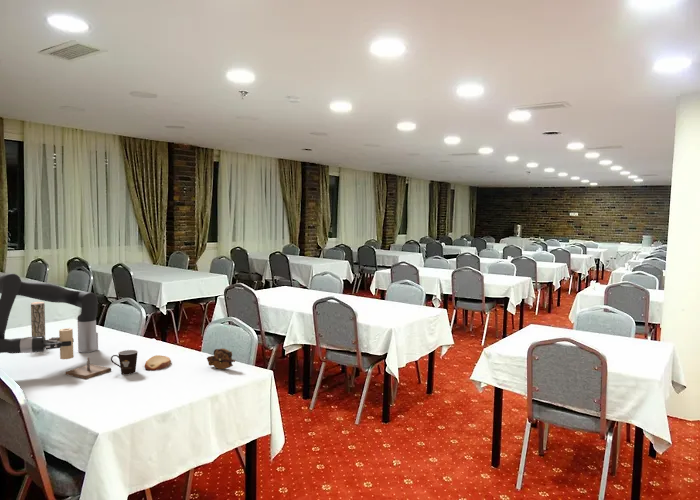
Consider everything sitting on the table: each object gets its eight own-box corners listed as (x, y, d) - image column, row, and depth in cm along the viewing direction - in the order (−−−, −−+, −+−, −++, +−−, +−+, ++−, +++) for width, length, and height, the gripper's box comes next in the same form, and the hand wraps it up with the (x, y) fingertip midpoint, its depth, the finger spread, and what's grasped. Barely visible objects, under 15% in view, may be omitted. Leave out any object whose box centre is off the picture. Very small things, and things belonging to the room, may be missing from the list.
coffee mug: (141, 370, 253) (141, 350, 252) (129, 376, 245) (128, 355, 244) (123, 368, 257) (122, 348, 256) (109, 373, 249) (109, 353, 248)
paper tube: (39, 347, 296) (38, 304, 294) (29, 346, 297) (27, 303, 295) (48, 344, 302) (47, 302, 300) (38, 343, 304) (37, 301, 302)
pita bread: (161, 358, 277) (161, 351, 277) (182, 364, 267) (182, 357, 266) (130, 365, 262) (130, 358, 262) (151, 372, 252) (151, 365, 252)
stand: (91, 366, 259) (91, 352, 258) (110, 370, 253) (110, 355, 252) (65, 374, 246) (65, 359, 245) (85, 378, 240) (85, 363, 239)
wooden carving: (204, 368, 259) (204, 348, 259) (209, 365, 264) (209, 346, 263) (232, 371, 254) (232, 351, 253) (237, 369, 258) (237, 349, 257)
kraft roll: (68, 355, 255) (67, 327, 254) (75, 356, 253) (74, 329, 252) (58, 358, 250) (57, 330, 249) (65, 359, 248) (64, 331, 247)
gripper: (28, 340, 239) (69, 337, 245) (35, 333, 253) (74, 330, 258) (29, 356, 240) (70, 353, 245) (36, 348, 253) (75, 345, 259)
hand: (72, 341), depth 252 cm, fingers closed on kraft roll, 5 cm apart
